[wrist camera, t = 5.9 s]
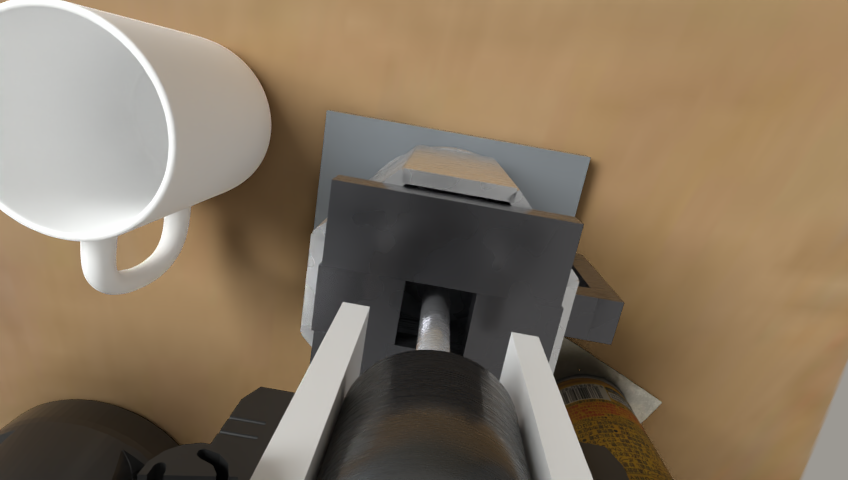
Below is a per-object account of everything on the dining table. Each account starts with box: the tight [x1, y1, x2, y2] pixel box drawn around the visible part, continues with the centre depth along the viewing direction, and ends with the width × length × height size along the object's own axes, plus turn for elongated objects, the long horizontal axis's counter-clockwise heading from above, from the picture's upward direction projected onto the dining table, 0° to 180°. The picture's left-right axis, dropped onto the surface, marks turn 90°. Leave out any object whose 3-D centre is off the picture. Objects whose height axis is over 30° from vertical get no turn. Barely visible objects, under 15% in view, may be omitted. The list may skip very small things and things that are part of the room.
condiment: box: [553, 337, 673, 480], centre depth 25 cm, size 7×8×12 cm
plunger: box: [316, 184, 531, 480], centre depth 15 cm, size 7×7×19 cm
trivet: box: [314, 110, 591, 230], centre depth 27 cm, size 14×11×1 cm
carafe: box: [300, 145, 624, 381], centre depth 22 cm, size 12×10×11 cm
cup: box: [0, 0, 271, 295], centre depth 22 cm, size 8×12×10 cm
